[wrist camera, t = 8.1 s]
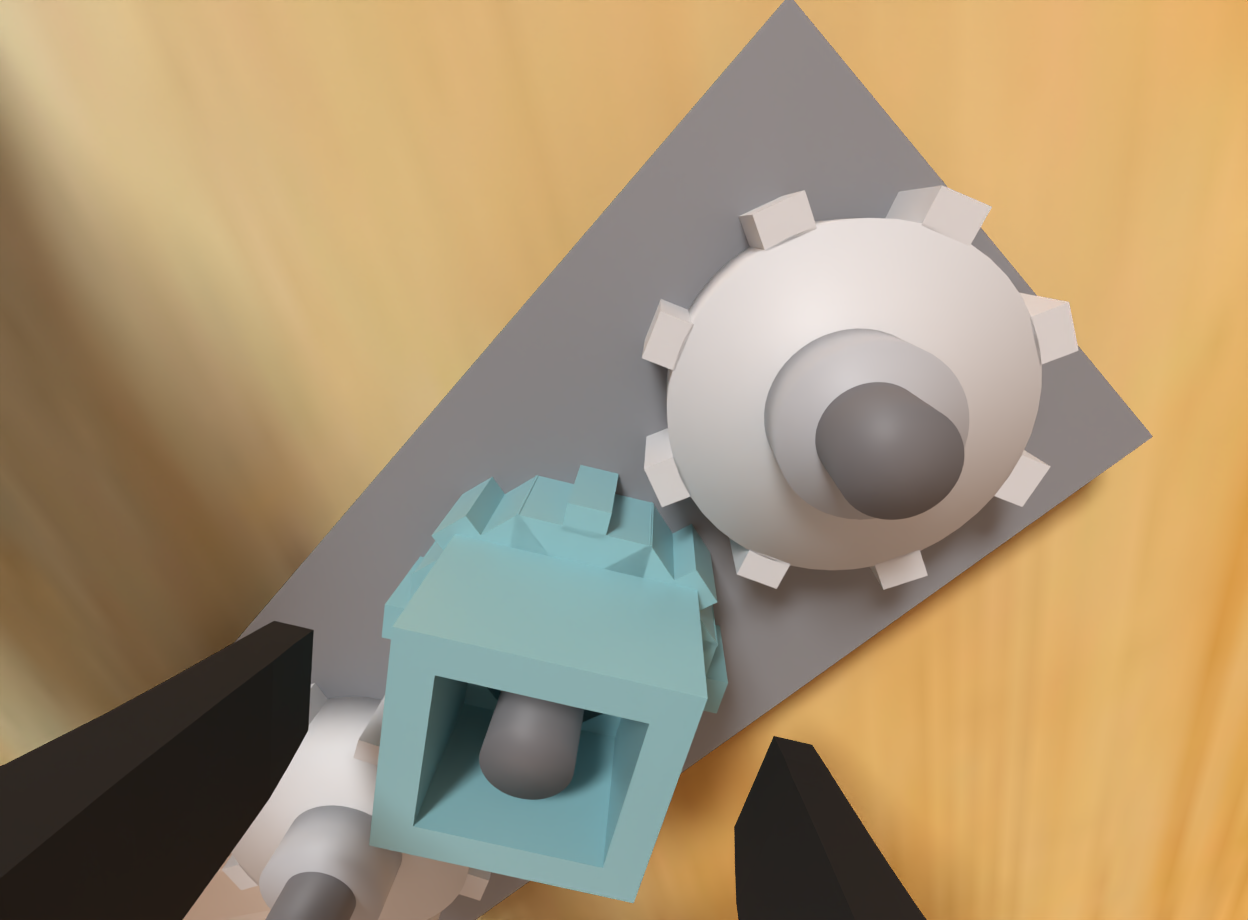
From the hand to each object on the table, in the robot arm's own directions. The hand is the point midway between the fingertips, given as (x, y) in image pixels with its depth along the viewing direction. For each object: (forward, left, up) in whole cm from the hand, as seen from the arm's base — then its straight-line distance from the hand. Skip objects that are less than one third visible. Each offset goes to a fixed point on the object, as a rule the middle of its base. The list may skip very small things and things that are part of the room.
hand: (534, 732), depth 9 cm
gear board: (0, 0, -4) cm, 4 cm away
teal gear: (0, 0, -3) cm, 3 cm away
